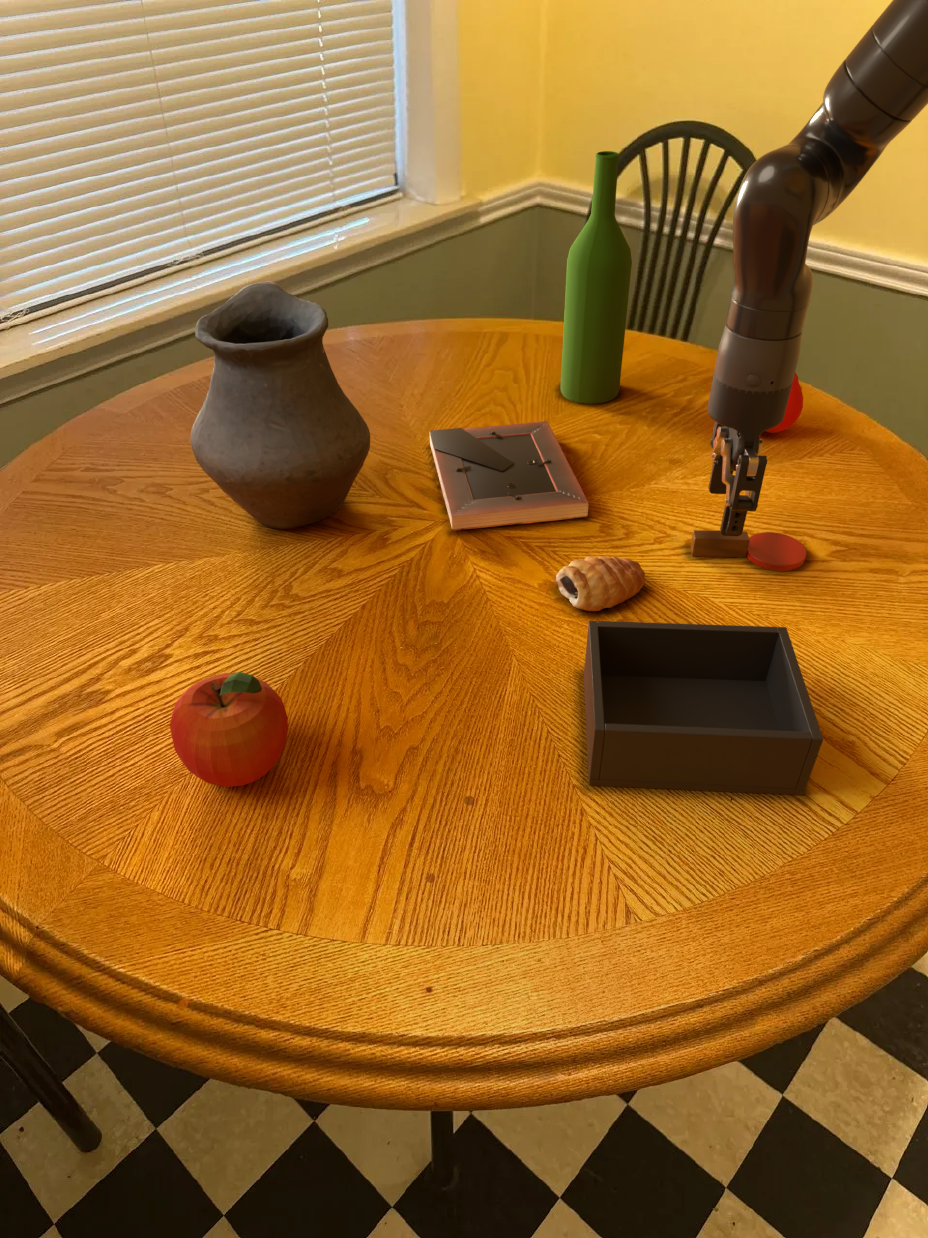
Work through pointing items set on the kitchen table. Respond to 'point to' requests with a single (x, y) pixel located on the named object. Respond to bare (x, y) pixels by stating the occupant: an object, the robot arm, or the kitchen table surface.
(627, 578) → the pastry
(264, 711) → the fruit
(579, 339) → the wine bottle
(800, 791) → the bin
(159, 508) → the kitchen table surface
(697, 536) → the paddle
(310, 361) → the grey clay vase
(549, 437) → the picture frame
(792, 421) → the tomato
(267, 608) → the kitchen table surface
